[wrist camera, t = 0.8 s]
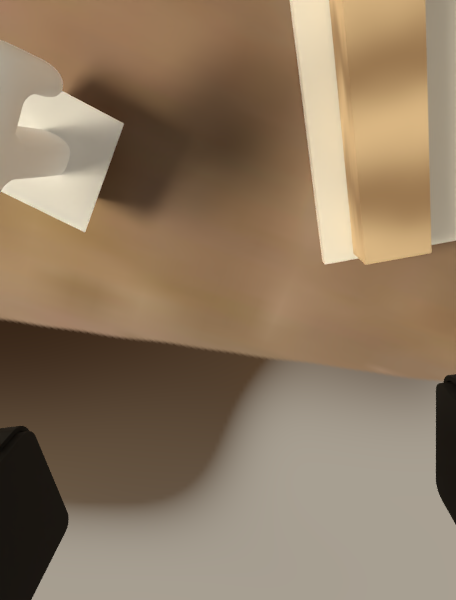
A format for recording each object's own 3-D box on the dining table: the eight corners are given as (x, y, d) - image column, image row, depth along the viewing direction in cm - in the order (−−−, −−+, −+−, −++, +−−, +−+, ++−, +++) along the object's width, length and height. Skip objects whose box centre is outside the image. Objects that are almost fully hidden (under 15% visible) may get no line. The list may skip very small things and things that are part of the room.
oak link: (288, -244, 18) (302, -389, 14) (407, -285, 18) (467, -453, 13) (341, 255, 27) (362, 277, 22) (424, 240, 26) (464, 259, 21)
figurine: (146, 112, 25) (21, 54, 11) (99, 236, 29) (-44, 311, 15) (44, 57, 25) (-226, -77, 11) (8, 191, 28) (-238, 225, 14)
